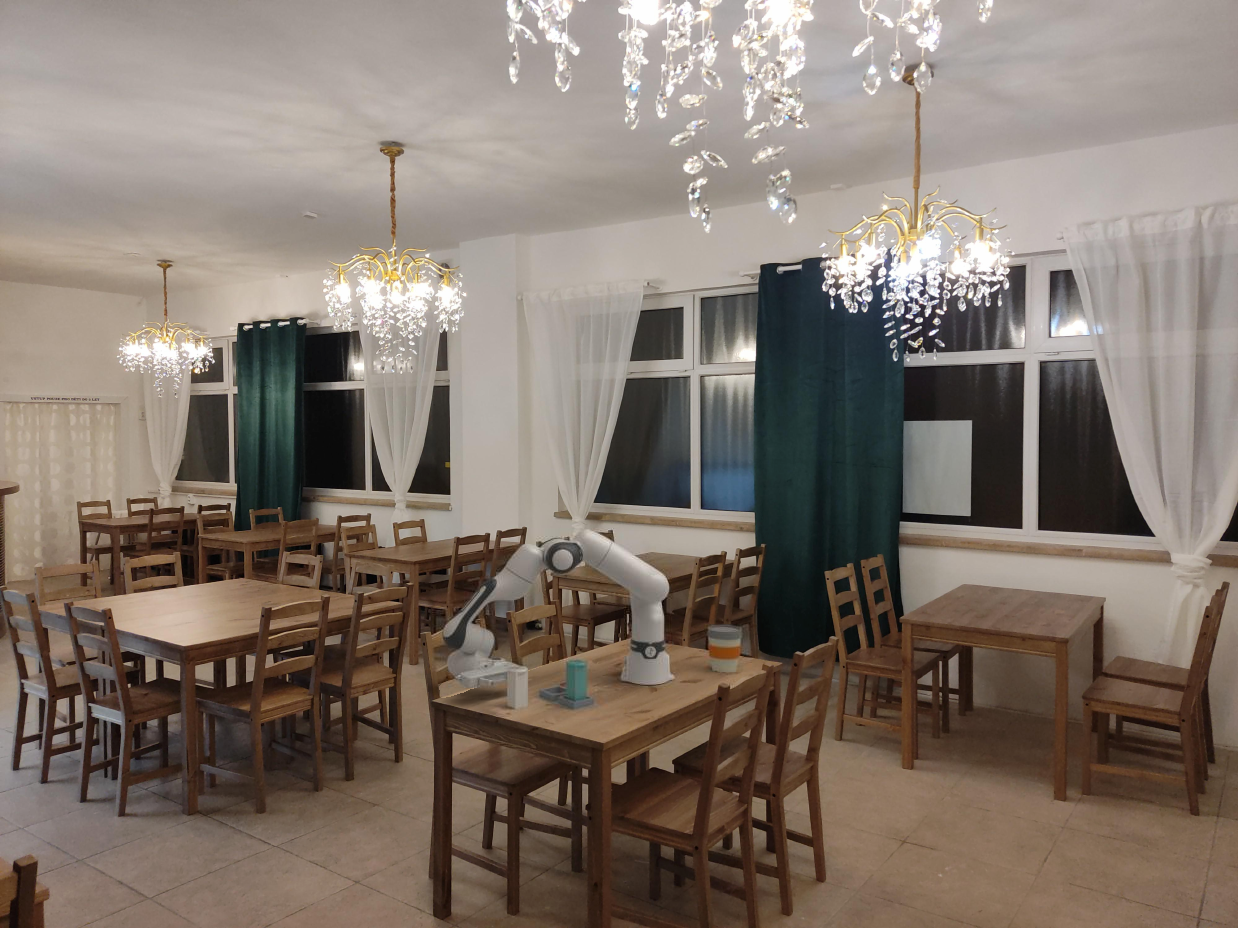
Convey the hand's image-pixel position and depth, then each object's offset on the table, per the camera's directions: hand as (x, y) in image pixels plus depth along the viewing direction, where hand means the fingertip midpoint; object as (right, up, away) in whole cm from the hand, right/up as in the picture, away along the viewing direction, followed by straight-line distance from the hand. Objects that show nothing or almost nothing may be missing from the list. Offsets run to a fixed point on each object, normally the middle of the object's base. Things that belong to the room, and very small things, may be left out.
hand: (504, 680), depth 274 cm
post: (+5, -8, -5) cm, 11 cm away
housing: (+19, -8, +1) cm, 21 cm away
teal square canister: (+23, -6, -3) cm, 24 cm away
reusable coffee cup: (+74, -7, +45) cm, 87 cm away
